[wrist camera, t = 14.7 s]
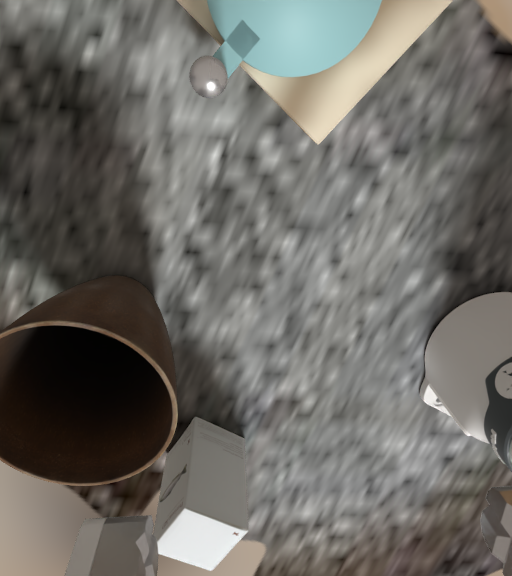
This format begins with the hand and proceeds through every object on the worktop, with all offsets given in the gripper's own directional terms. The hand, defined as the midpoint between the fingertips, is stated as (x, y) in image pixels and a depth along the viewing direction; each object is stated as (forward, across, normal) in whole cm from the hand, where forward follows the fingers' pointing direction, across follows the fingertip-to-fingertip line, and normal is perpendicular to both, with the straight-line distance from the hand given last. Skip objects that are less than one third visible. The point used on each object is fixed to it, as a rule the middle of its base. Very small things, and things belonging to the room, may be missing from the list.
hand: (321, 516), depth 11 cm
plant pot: (+34, +14, +11) cm, 39 cm away
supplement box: (+34, +7, +31) cm, 47 cm away
